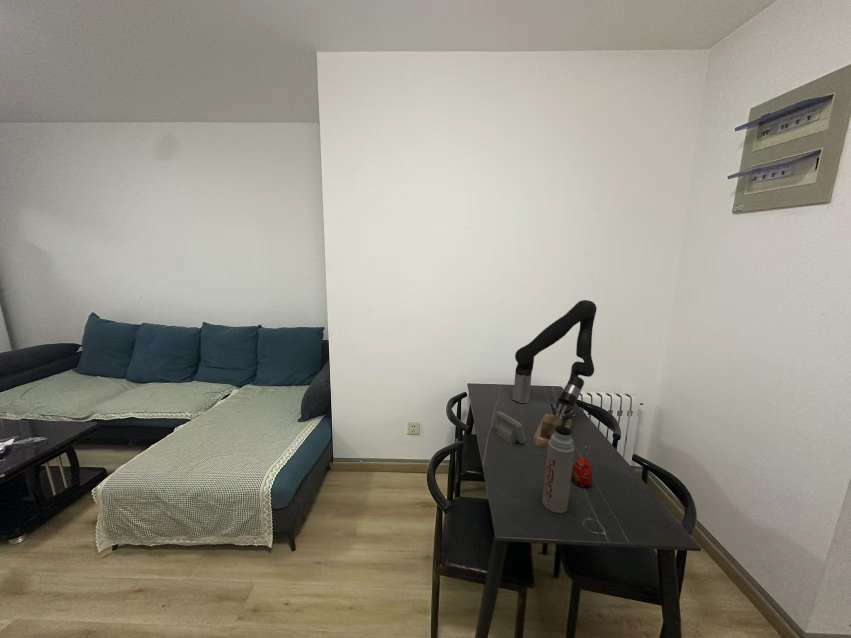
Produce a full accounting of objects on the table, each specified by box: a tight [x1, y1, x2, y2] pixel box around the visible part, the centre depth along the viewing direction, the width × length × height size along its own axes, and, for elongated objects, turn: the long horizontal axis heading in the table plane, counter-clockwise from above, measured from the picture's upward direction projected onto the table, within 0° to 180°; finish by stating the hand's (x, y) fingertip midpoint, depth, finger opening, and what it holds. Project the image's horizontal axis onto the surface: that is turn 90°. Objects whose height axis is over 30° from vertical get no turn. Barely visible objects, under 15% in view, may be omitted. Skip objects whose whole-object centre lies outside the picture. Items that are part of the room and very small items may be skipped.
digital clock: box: [495, 410, 526, 445], centre depth 150 cm, size 16×9×11 cm, turn 18°
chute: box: [532, 413, 573, 450], centre depth 154 cm, size 13×28×4 cm, turn 150°
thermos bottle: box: [542, 425, 575, 514], centre depth 107 cm, size 8×8×28 cm
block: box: [541, 413, 563, 440], centre depth 152 cm, size 6×10×9 cm, turn 140°
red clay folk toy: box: [571, 444, 593, 488], centre depth 120 cm, size 8×7×15 cm
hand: (555, 425), depth 156 cm, fingers closed
